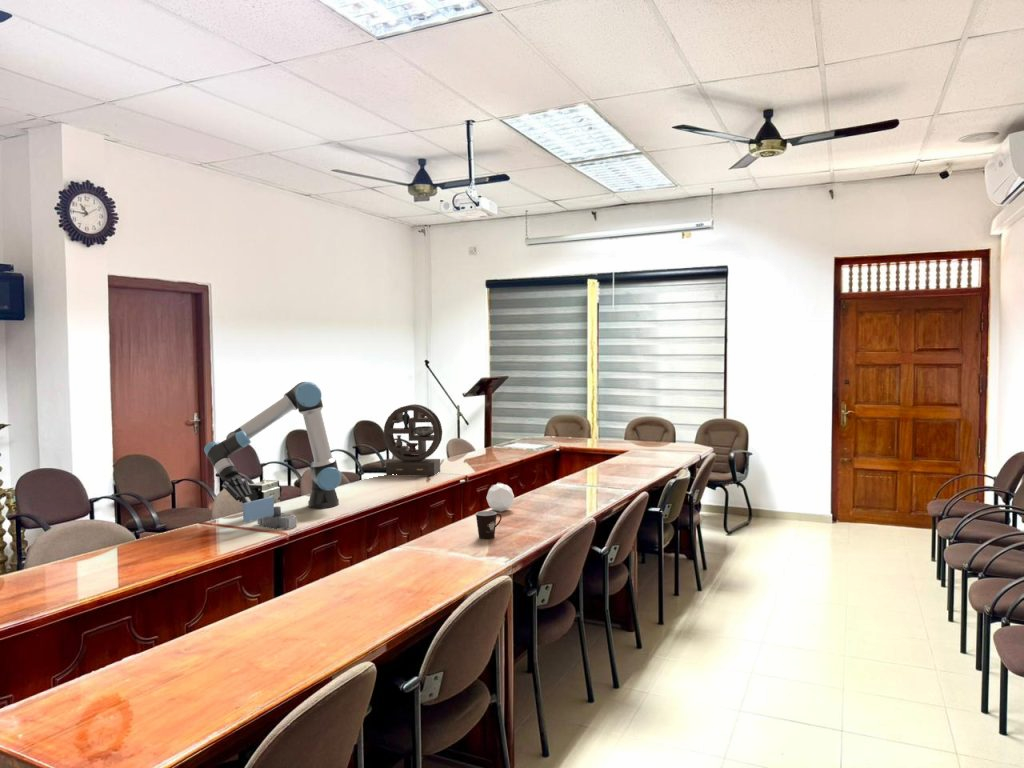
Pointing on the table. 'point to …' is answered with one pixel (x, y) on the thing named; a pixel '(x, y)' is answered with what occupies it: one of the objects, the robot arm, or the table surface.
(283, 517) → the valve body
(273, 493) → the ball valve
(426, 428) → the round curio shelf
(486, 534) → the coffee mug
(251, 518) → the lever
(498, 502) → the geodesic sphere
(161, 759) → the table surface
